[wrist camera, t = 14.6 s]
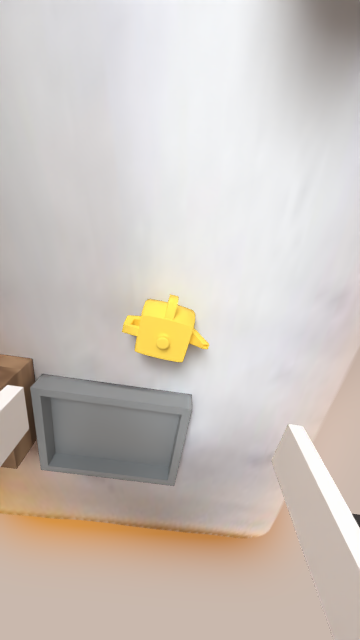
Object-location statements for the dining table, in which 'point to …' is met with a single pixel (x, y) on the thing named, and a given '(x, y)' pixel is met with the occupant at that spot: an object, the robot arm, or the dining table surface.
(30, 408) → the wooden square hole block
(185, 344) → the teapot
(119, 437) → the tray
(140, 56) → the dining table surface
